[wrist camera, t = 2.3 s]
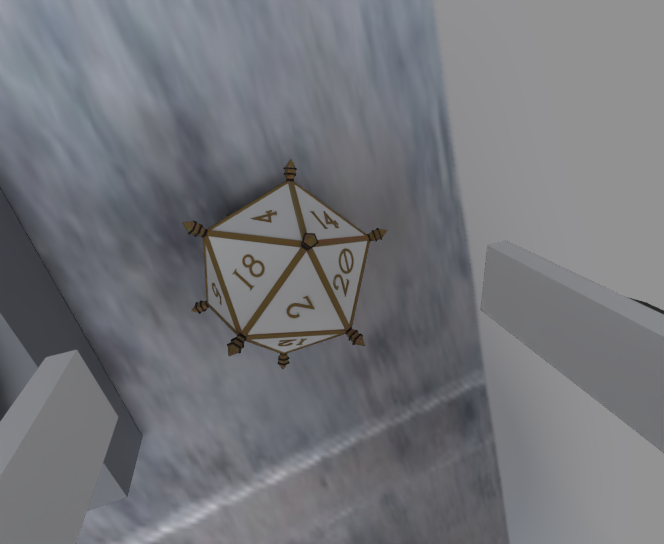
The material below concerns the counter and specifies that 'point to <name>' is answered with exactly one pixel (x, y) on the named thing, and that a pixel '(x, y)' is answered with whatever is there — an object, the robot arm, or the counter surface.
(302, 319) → the game die
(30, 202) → the counter surface
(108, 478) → the scale
